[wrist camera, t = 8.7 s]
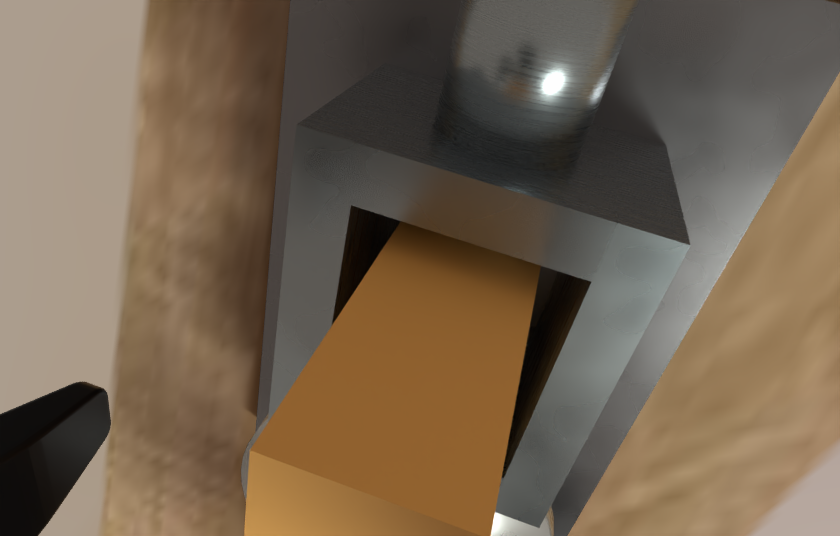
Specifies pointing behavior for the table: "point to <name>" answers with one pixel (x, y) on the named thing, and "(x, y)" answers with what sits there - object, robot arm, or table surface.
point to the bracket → (539, 186)
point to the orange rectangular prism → (401, 400)
